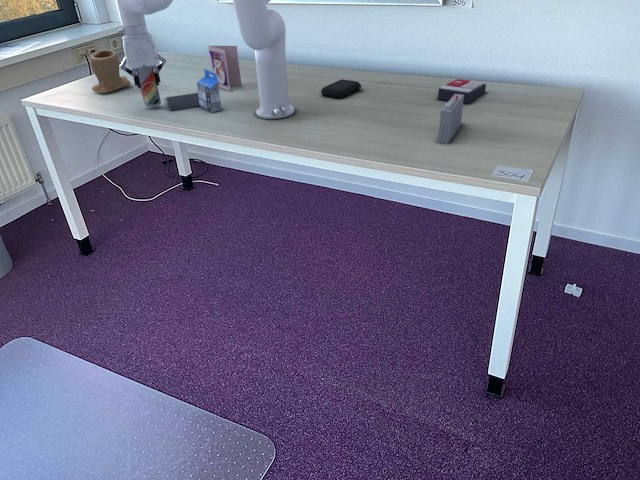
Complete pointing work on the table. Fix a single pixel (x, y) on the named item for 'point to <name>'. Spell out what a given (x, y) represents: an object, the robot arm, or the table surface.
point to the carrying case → (341, 88)
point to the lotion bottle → (148, 86)
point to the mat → (183, 101)
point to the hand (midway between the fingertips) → (148, 85)
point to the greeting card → (225, 65)
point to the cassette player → (450, 118)
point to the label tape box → (209, 92)
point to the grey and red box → (462, 90)
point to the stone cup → (107, 71)
